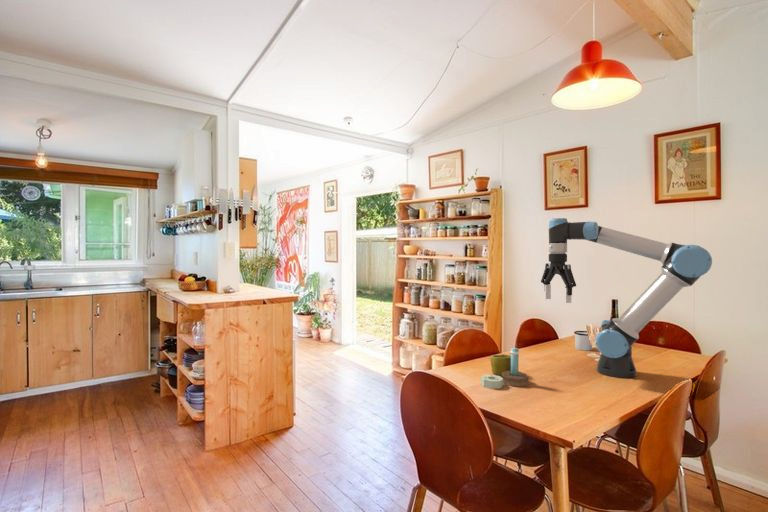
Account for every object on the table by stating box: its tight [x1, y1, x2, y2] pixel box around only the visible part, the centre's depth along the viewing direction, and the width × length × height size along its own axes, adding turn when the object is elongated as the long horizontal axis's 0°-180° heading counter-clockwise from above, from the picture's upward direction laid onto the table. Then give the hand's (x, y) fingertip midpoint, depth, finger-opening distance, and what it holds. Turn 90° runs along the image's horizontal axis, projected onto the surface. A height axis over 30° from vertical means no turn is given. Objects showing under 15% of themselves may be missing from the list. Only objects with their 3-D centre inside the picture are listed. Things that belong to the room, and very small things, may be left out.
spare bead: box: [480, 374, 504, 390], centre depth 163 cm, size 8×8×3 cm
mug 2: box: [573, 330, 593, 352], centre depth 221 cm, size 12×10×9 cm
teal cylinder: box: [510, 347, 520, 376], centre depth 166 cm, size 3×3×14 cm
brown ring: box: [501, 370, 529, 388], centre depth 166 cm, size 10×10×3 cm
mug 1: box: [490, 353, 511, 377], centre depth 179 cm, size 12×10×10 cm
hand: (557, 300), depth 180 cm, fingers open, 13 cm apart
